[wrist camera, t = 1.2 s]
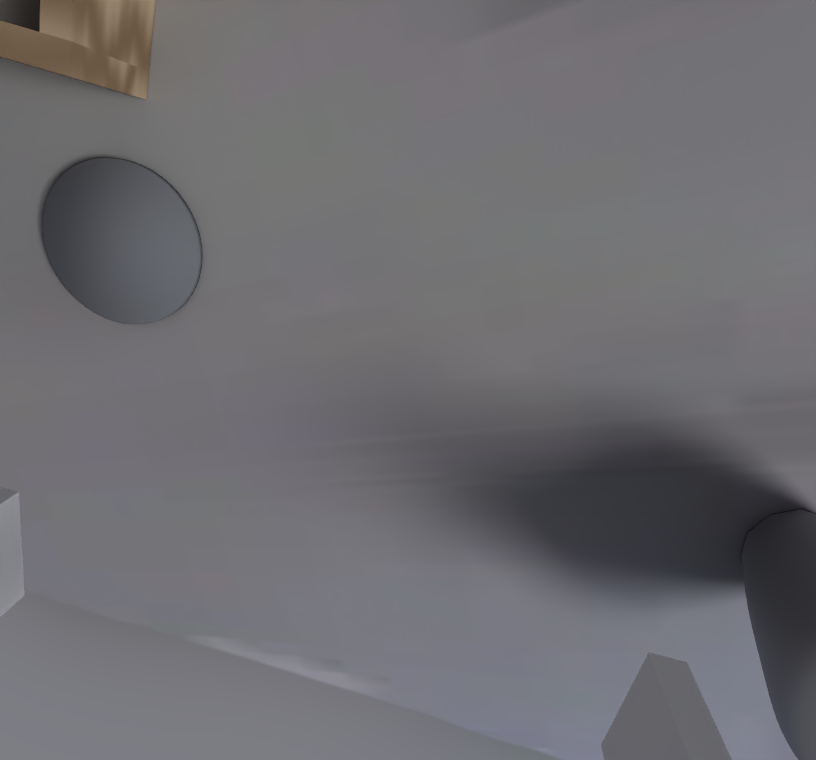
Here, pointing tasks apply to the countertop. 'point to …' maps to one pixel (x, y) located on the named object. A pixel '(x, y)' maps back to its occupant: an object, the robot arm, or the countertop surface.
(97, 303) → the coaster
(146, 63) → the wooden u-shaped channel
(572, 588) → the countertop surface
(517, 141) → the countertop surface
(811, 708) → the vase
